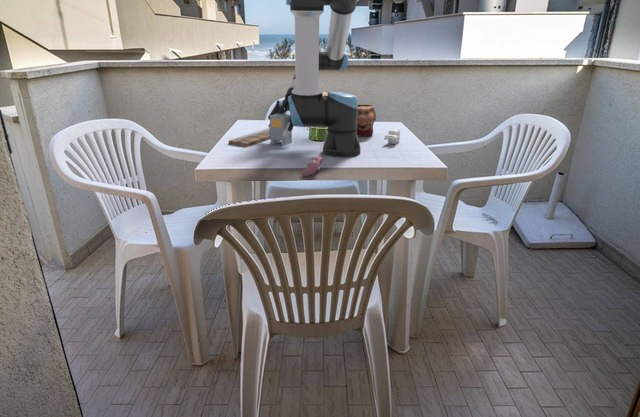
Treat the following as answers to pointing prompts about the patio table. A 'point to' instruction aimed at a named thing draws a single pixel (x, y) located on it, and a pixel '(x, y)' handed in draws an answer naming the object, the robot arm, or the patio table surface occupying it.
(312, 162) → the pink mottled elongated lump
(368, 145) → the patio table surface
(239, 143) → the board
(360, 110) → the decorative planter
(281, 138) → the module
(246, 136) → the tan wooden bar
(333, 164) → the patio table surface
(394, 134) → the power adapter
